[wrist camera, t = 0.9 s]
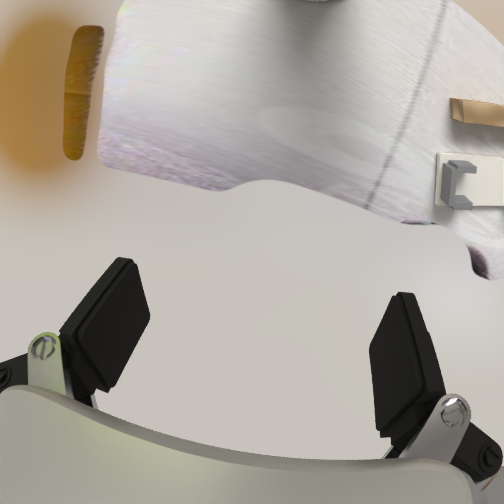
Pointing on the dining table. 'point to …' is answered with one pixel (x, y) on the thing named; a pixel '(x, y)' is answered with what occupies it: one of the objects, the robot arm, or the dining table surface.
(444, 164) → the mounting board
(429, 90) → the dining table surface
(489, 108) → the slat
